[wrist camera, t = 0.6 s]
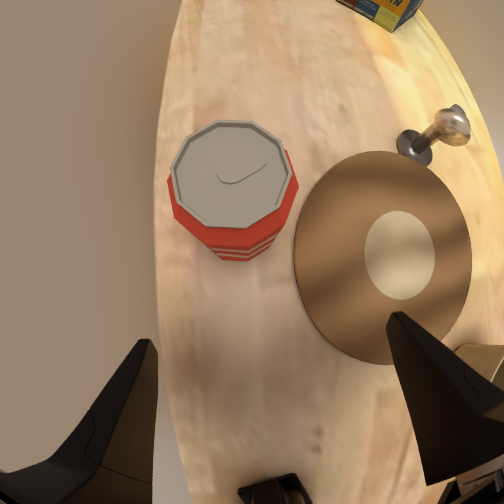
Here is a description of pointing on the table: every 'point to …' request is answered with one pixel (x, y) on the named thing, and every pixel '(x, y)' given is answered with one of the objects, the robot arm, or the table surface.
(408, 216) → the lazy susan
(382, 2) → the protein box
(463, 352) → the flower pot
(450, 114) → the metal door stop
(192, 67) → the table surface
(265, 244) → the beverage can
